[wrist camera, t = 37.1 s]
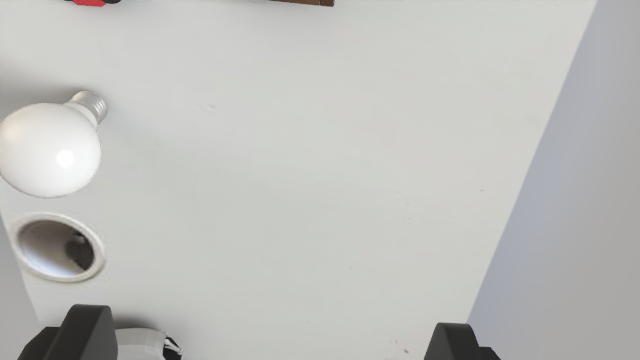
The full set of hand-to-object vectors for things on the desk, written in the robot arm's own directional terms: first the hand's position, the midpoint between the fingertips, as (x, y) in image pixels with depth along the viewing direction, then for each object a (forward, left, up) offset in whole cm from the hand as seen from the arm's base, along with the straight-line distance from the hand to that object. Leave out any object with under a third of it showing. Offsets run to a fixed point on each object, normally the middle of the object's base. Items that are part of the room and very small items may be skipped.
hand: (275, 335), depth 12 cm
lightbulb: (+16, -7, -28) cm, 33 cm away
